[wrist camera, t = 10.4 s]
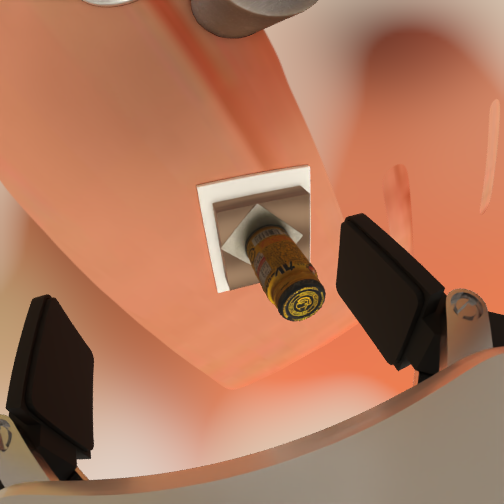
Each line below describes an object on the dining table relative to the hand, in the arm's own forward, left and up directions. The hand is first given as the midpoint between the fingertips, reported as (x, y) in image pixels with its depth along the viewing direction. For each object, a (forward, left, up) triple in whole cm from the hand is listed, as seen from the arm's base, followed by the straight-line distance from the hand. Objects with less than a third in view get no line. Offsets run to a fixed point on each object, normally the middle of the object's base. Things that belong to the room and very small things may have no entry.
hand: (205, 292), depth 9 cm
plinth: (+16, +10, -29) cm, 34 cm away
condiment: (+15, +9, -26) cm, 31 cm away
